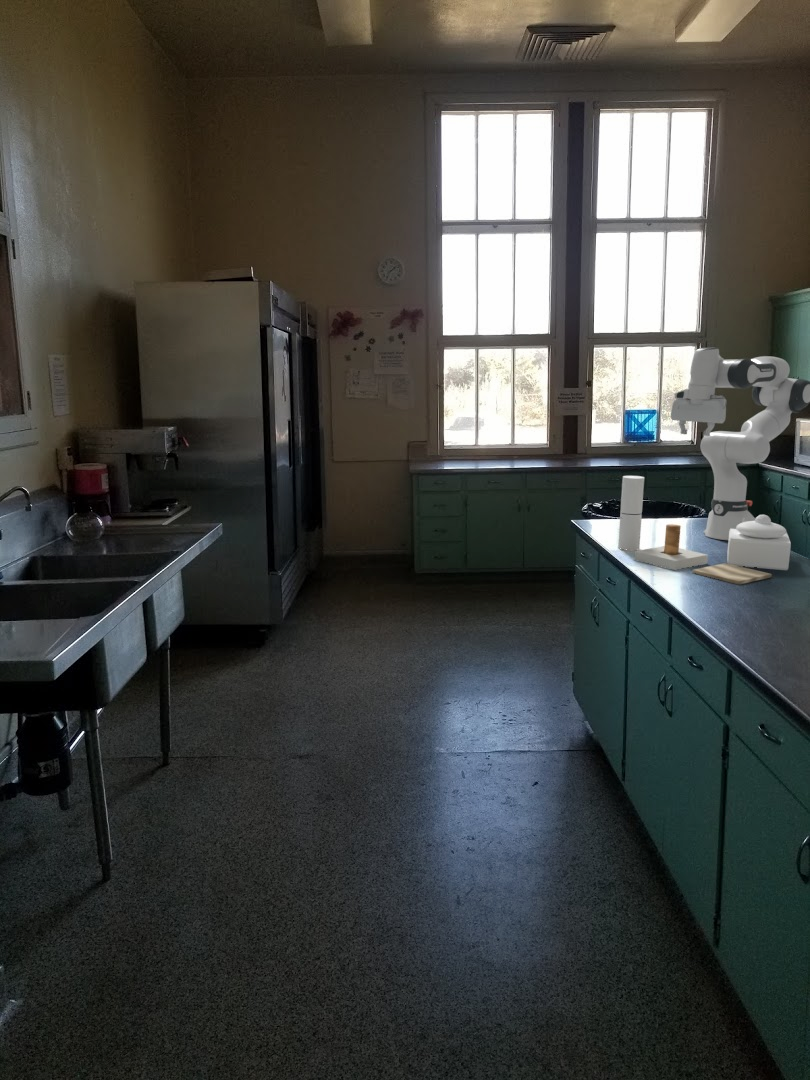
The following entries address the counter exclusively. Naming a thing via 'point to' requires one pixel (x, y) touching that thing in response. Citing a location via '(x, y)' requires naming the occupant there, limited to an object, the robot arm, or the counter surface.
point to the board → (732, 573)
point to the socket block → (671, 558)
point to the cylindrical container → (631, 512)
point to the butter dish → (759, 545)
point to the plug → (672, 539)
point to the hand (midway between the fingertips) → (694, 435)
